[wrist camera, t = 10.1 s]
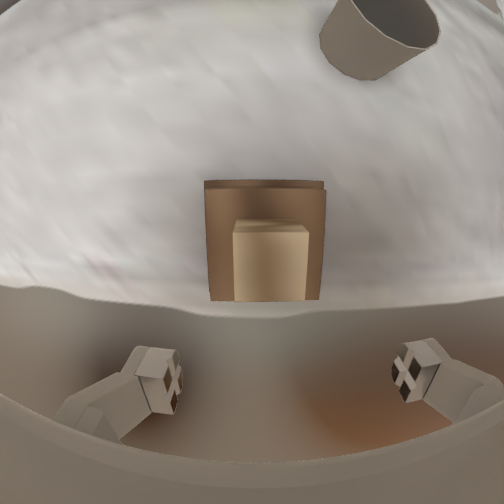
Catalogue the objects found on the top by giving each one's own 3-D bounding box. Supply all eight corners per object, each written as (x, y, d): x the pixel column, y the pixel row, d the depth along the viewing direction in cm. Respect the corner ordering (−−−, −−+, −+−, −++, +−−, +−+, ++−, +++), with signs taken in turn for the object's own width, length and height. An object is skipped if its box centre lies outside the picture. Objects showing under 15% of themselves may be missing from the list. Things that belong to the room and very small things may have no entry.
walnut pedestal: (321, 181, 26) (333, 183, 22) (315, 287, 29) (324, 304, 25) (205, 180, 26) (197, 182, 22) (210, 288, 29) (204, 306, 25)
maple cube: (297, 218, 23) (309, 232, 18) (294, 274, 24) (304, 300, 19) (236, 218, 23) (232, 232, 18) (237, 275, 24) (234, 301, 19)
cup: (331, 82, 22) (370, 44, 13) (309, 18, 20) (332, -34, 11) (400, 80, 22) (453, 55, 12) (377, 20, 20) (417, -19, 10)
